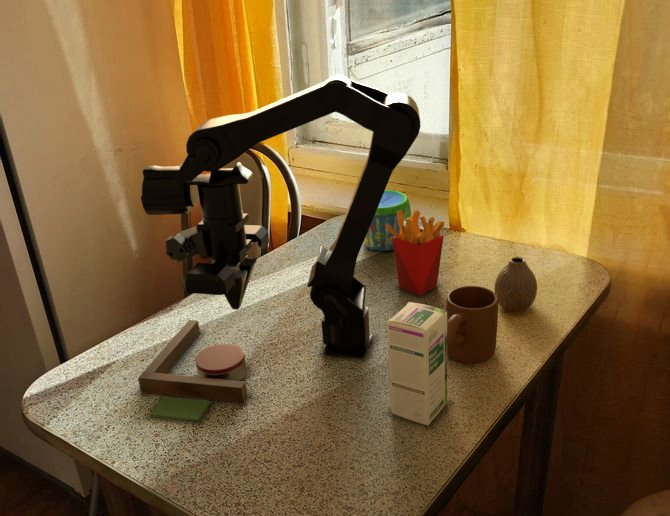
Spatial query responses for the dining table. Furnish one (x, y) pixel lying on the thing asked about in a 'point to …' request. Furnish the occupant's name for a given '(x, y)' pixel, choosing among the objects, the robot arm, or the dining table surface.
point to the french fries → (417, 252)
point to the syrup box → (418, 362)
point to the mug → (471, 324)
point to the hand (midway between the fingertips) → (236, 308)
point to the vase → (516, 286)
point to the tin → (222, 362)
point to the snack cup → (387, 220)
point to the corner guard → (187, 386)
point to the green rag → (180, 409)
